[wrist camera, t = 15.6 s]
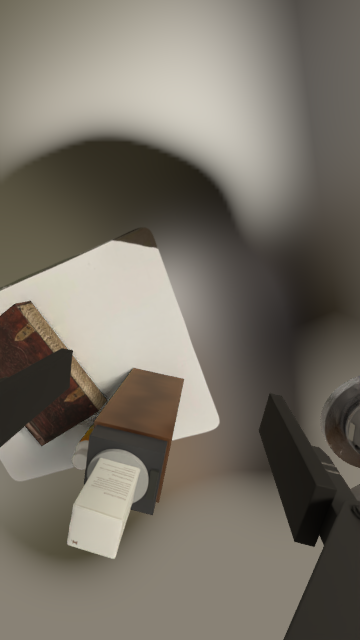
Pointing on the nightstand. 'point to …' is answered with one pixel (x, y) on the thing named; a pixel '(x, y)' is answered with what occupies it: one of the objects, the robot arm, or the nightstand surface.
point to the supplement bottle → (82, 451)
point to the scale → (130, 460)
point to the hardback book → (33, 345)
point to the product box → (103, 508)
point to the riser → (145, 408)
